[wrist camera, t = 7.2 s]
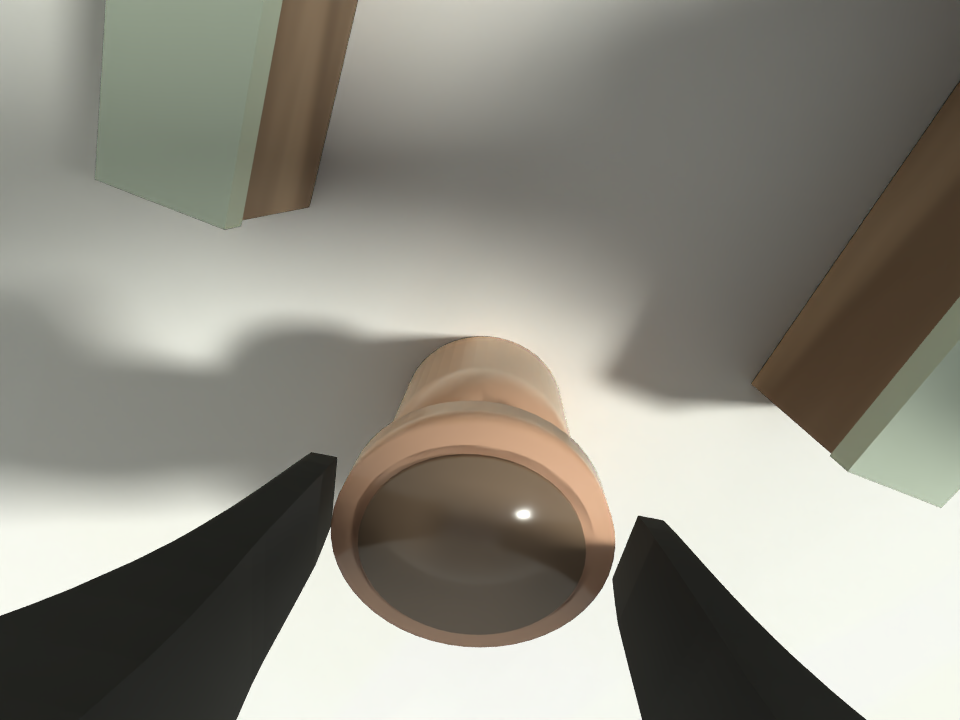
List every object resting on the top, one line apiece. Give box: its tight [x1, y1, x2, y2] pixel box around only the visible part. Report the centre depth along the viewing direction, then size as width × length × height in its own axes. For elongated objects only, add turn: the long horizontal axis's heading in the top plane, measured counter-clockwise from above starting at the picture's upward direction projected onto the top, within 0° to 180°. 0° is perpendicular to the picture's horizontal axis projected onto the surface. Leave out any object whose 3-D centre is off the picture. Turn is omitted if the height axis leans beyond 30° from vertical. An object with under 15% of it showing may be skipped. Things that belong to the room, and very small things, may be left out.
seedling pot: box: [331, 336, 615, 647], centre depth 12 cm, size 6×6×6 cm
